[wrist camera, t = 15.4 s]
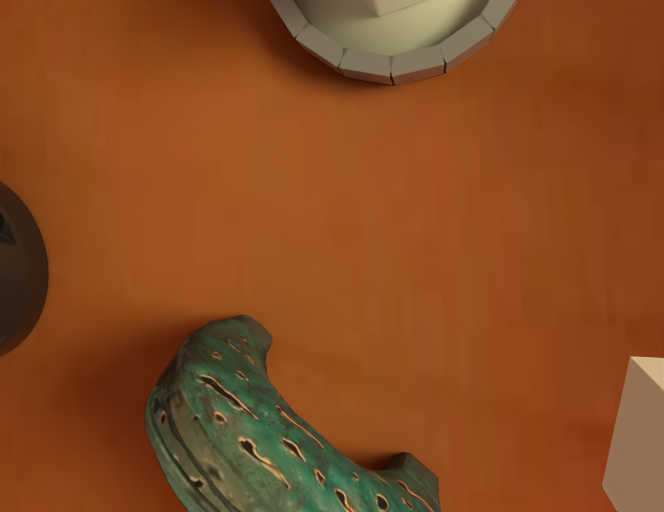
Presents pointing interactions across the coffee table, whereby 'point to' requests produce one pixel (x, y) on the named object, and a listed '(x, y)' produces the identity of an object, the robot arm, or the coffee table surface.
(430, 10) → the ring dish
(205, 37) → the coffee table surface
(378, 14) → the jar
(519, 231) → the coffee table surface
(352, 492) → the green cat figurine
